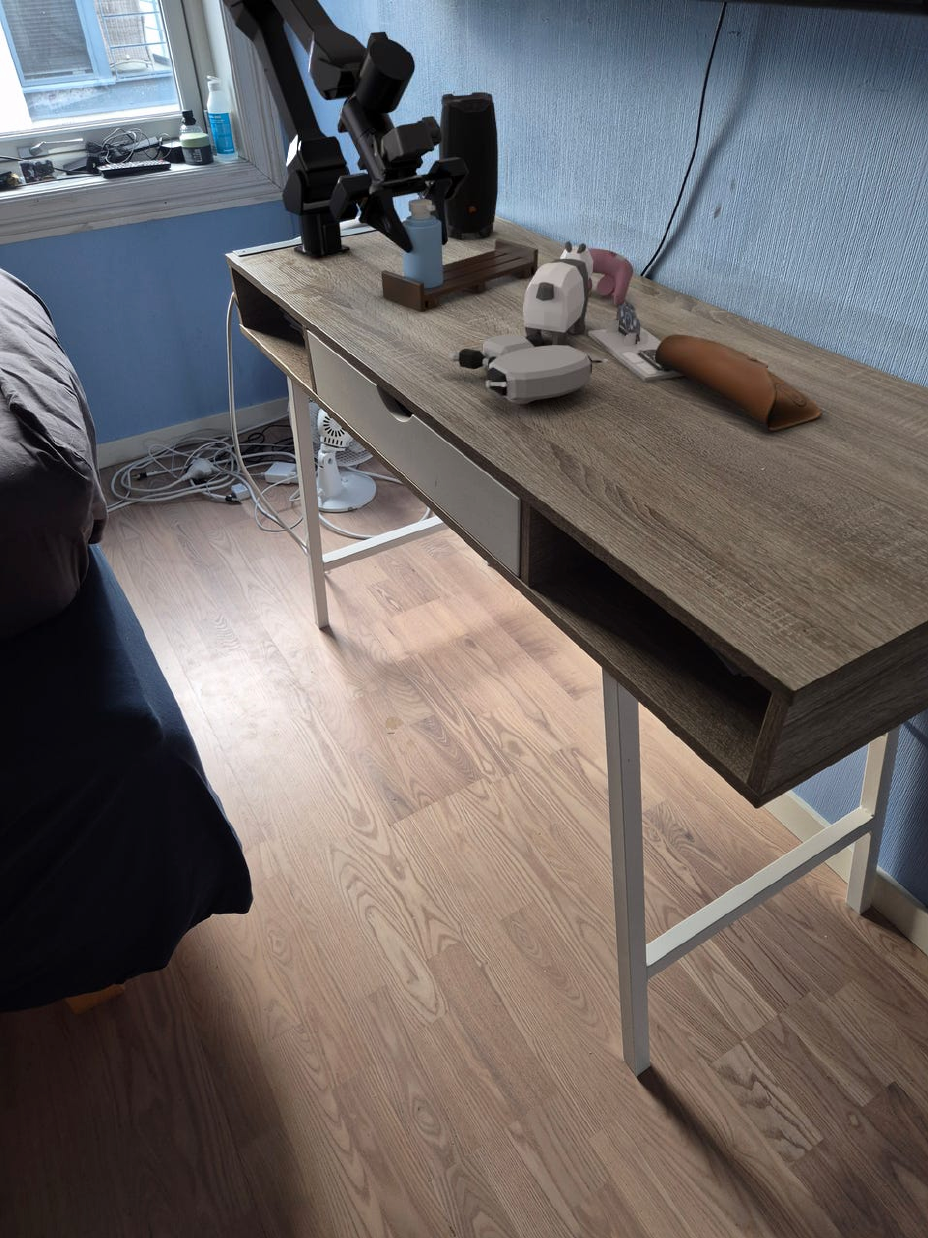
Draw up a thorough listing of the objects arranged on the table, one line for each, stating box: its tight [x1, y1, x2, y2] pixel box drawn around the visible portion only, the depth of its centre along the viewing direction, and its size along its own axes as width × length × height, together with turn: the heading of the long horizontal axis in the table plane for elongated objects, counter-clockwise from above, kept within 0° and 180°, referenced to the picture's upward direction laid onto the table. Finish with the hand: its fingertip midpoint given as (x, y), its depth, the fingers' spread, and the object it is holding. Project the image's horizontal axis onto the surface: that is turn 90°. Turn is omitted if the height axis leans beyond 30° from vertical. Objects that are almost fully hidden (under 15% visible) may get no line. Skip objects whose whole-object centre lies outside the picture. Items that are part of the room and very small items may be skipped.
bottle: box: [401, 198, 444, 289], centre depth 113 cm, size 5×5×10 cm
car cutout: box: [587, 300, 684, 383], centre depth 100 cm, size 15×7×4 cm, turn 18°
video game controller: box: [587, 247, 634, 307], centre depth 115 cm, size 10×5×7 cm, turn 65°
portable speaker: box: [438, 91, 499, 239], centre depth 136 cm, size 9×9×20 cm
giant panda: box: [522, 240, 594, 346], centre depth 104 cm, size 15×6×10 cm, turn 155°
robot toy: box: [448, 333, 609, 405], centre depth 93 cm, size 12×4×15 cm
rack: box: [380, 238, 539, 312], centre depth 120 cm, size 8×22×4 cm, turn 133°
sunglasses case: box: [655, 334, 823, 433], centre depth 90 cm, size 18×7×7 cm, turn 27°
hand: (428, 247), depth 112 cm, fingers closed on bottle, 5 cm apart
